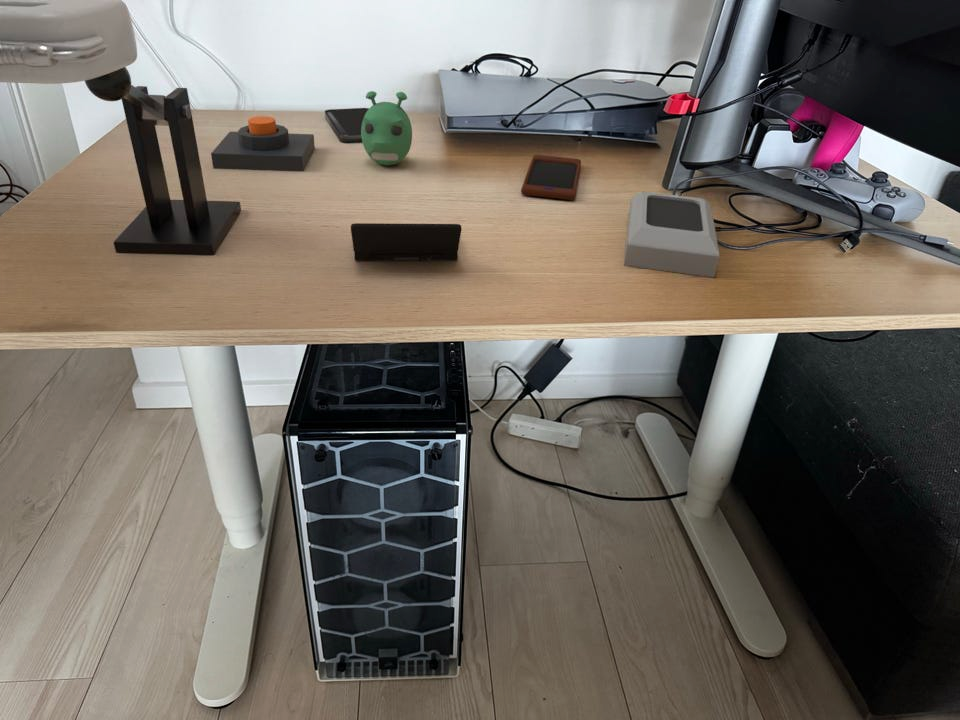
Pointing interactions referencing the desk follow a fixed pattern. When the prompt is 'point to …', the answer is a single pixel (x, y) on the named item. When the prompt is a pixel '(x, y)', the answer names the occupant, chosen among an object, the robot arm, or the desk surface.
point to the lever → (129, 95)
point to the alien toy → (386, 131)
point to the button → (262, 125)
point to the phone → (346, 123)
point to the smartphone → (552, 177)
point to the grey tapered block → (671, 234)
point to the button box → (264, 151)
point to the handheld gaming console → (405, 241)
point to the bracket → (163, 219)
